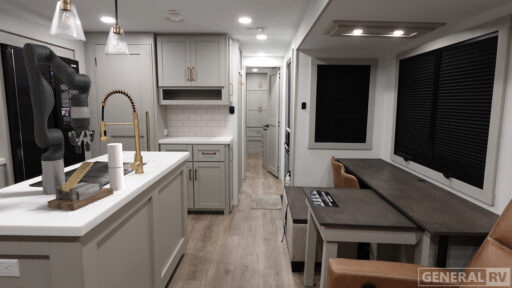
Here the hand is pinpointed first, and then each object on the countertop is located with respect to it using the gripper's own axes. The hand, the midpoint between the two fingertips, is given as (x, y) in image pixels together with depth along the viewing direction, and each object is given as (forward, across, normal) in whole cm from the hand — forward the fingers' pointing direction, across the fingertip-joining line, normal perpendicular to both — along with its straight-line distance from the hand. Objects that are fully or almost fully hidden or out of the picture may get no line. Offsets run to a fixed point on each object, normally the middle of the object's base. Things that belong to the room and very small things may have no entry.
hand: (83, 152), depth 134 cm
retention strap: (+11, +4, 0) cm, 12 cm away
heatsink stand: (+23, +2, 0) cm, 23 cm away
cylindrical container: (+24, -18, +3) cm, 30 cm away
